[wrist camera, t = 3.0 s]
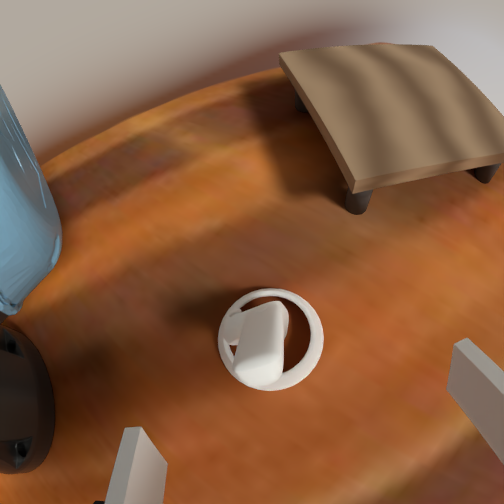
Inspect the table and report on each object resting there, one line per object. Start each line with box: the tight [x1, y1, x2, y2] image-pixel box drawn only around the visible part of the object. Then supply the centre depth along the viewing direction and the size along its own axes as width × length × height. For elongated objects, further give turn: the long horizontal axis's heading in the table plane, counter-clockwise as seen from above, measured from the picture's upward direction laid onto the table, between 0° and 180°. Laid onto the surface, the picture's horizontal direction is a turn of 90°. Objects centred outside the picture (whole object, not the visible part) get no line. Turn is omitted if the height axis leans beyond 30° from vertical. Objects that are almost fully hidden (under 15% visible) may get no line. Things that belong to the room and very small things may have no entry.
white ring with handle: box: [218, 288, 324, 391], centre depth 19 cm, size 8×12×7 cm
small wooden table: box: [279, 44, 504, 215], centre depth 27 cm, size 20×18×6 cm
